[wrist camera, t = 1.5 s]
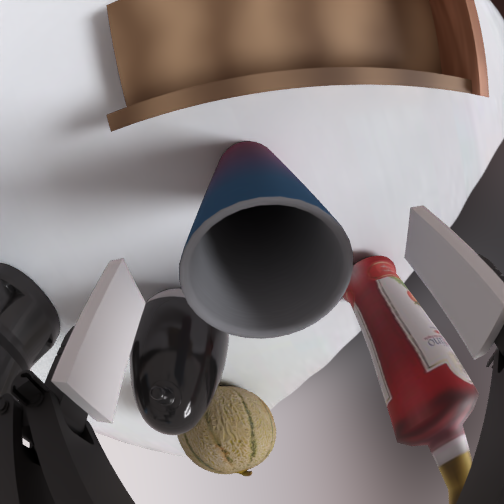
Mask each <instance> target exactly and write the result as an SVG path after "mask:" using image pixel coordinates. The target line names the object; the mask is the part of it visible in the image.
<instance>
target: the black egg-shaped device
mask: <svg viewBox="0 0 504 504" xmlns="http://www.w3.org/2000/svg"><path fill="white" fill-rule="evenodd" d="M228 343H229V333H226V332H223V331H220V330H218V329H216V328H215V327H213V326H211V325H209V324H208V323H206V322H205V321H204V320H203V319H201V318H200V317H199V316H198V315H197V314H196V313H195V312H194V311H193V309H192V308H191V307H190V306H189V304H188V303H187V301H186V299H185V296H184V294H183V292H182V289H169V290H165V291H162V292H160V293H158V294H156V295H154V296H153V297H152V298H150V299H149V300H148V301H147V302H146V304H145V307H144V310H143V313H142V316H141V319H140V322H139V326H138V329H137V332H136V335H135V339H134V342H133V345H132V349H131V352H130V356H129V357H130V374H131V383H132V389H133V394H134V398H135V401H136V404H137V407H138V409H139V411H140V413H141V415H142V417H143V419H144V420H145V421H146V423H147V424H148V425H149V426H150V427H152V428H153V429H155V430H156V431H158V432H161V433H163V434H167V435H180V434H184V433H187V432H189V431H191V430H192V429H194V428H195V427H196V426H197V425H198V424H199V423H200V421H201V420H202V419H203V418H204V416H205V415H206V413H207V411H208V410H209V408H210V406H211V404H212V402H213V399H214V397H215V394H216V392H217V389H218V386H219V383H220V380H221V377H222V373H223V370H224V366H225V361H226V356H227V350H228Z"/></svg>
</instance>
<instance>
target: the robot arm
mask: <svg viewBox="0 0 504 504" xmlns="http://www.w3.org/2000/svg"><path fill="white" fill-rule="evenodd" d="M404 258H405V259H406V260H407V261H408V263H409V264H410V265H411V267H412V268H413V269H414V270H415V272H416V273H417V274H418V276H419V277H420V278H421V280H422V281H423V282H424V284H425V285H426V286H427V288H428V289H429V291H430V292H431V293H432V295H433V296H434V298H435V299H436V300H437V302H438V303H439V305H440V306H441V308H442V309H443V311H444V312H445V314H446V315H447V317H448V318H449V319H450V321H451V323H452V324H453V326H454V327H455V329H456V330H457V332H458V334H459V335H460V337H461V338H462V340H463V341H464V343H465V345H466V347H467V348H468V350H469V352H470V353H471V355H472V357H473V359H474V360H475V359H476V358H479V357H480V356H482V355H484V354H486V353H488V351H489V350H490V348H491V346H492V345H493V343H495V344H496V346H497V349H496V351H495V352H494V353H493V355H492V357H491V358H490V359H489V361H488V363H487V366H486V367H489V365H490V364H491V363H492V361H493V360H494V364H493V366H492V368H493V372H492V380H491V387H490V393H489V399H488V404H487V409H486V414H485V419H484V423H483V427H482V431H481V435H480V439H479V442H478V446H477V449H476V452H475V456H474V459H473V462H472V465H471V468H470V470H469V473H468V476H467V479H466V481H465V484H464V486H463V489H462V491H461V493H460V496H459V498H458V500H457V503H456V504H504V276H503V275H502V273H501V272H500V271H499V270H497V268H496V267H495V266H494V265H493V264H492V263H491V262H490V261H489V260H488V259H486V258H485V257H483V256H482V255H480V254H478V255H477V254H476V253H475V252H474V251H473V250H472V249H471V248H470V247H469V246H468V245H467V244H466V243H465V242H464V241H463V240H462V239H461V238H460V237H459V236H458V235H457V234H456V233H454V232H453V231H452V230H451V229H450V228H449V227H448V226H447V225H446V224H444V223H443V222H442V221H441V220H440V219H439V218H438V217H436V216H435V215H434V214H433V213H432V212H430V211H429V210H428V209H427V208H426V207H424V206H417V207H410V217H409V227H408V235H407V243H406V250H405V257H404ZM145 304H146V303H145V301H144V299H143V297H142V295H141V293H140V291H139V289H138V287H137V285H136V283H135V281H134V279H133V277H132V275H131V273H130V271H129V269H128V267H127V265H126V263H125V260H124V258H121V259H116V260H112V261H110V262H109V263H108V265H107V267H106V268H105V270H104V272H103V274H102V275H101V277H100V279H99V281H98V283H97V284H96V286H95V288H94V290H93V292H92V294H91V295H90V297H89V299H88V301H87V303H86V305H85V307H84V309H83V311H82V313H81V315H80V317H79V319H78V321H77V323H76V325H75V326H73V327H72V328H71V329H70V331H69V332H68V333H67V334H66V335H65V337H64V340H63V342H62V344H61V348H59V350H58V353H57V356H56V357H55V359H54V362H53V364H52V366H51V369H50V371H49V374H48V376H47V378H46V381H45V383H43V382H42V381H41V380H40V379H39V378H38V377H37V376H36V375H35V374H34V373H33V372H32V371H30V368H31V367H32V366H33V365H34V364H35V363H36V362H37V361H38V360H39V359H40V358H41V357H42V356H43V355H44V354H45V353H46V352H47V351H48V350H49V349H51V347H52V346H53V345H54V343H55V341H56V339H57V337H58V335H59V333H60V321H59V318H58V315H57V313H56V310H55V308H54V307H53V305H52V303H51V302H50V300H49V299H48V298H47V296H46V295H45V294H44V292H43V291H42V290H41V289H40V288H39V287H38V286H37V285H36V284H35V283H34V282H33V281H32V280H31V279H30V278H29V277H27V276H26V275H25V274H23V273H22V272H21V271H19V270H17V269H15V268H14V267H11V266H9V265H6V264H0V504H135V503H134V501H133V500H132V498H131V497H130V495H129V494H128V492H127V491H126V489H125V487H124V486H123V484H122V483H121V481H120V479H119V478H118V476H117V474H116V473H115V471H114V469H113V467H112V466H111V464H110V462H109V460H108V459H107V457H106V455H105V453H104V451H103V449H102V447H101V445H100V443H99V441H98V439H97V437H96V435H95V433H94V431H93V428H92V426H91V425H90V423H89V422H88V421H87V416H88V415H90V416H91V417H92V418H93V419H95V420H96V421H99V422H106V423H113V420H114V415H115V411H116V407H117V402H118V398H119V394H120V390H121V386H122V382H123V378H124V374H125V370H126V367H127V363H128V359H129V356H130V352H131V349H132V345H133V342H134V339H135V335H136V332H137V329H138V326H139V322H140V319H141V316H142V313H143V310H144V307H145ZM22 438H24V439H25V440H27V441H28V442H30V447H29V448H28V447H26V446H24V445H23V442H22Z"/></svg>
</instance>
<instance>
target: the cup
mask: <svg viewBox="0 0 504 504" xmlns="http://www.w3.org/2000/svg"><path fill="white" fill-rule="evenodd" d="M352 270H353V252H352V248H351V244H350V241H349V238H348V237H347V235H346V233H345V231H344V229H343V228H342V226H341V225H340V224H339V223H338V222H337V220H336V219H335V218H334V217H333V216H332V215H331V214H330V213H329V211H328V210H327V209H326V208H325V207H324V206H323V205H322V204H321V203H320V202H319V200H318V199H317V198H316V197H315V196H314V195H313V194H312V193H311V192H310V191H309V190H308V189H307V188H306V187H305V185H304V184H303V183H302V182H301V181H300V180H299V179H298V178H297V177H296V176H295V175H294V174H293V173H292V172H291V171H290V170H289V169H288V168H287V167H286V166H285V165H284V164H283V163H282V162H281V161H280V160H279V159H278V158H277V157H276V156H275V155H274V154H273V153H272V152H271V151H270V150H269V149H268V148H267V147H265V146H264V145H262V144H259V143H257V142H251V141H246V142H240V143H237V144H235V145H233V146H231V147H230V148H228V149H227V150H226V151H225V153H224V154H223V155H222V157H221V159H220V161H219V163H218V166H217V168H216V170H215V173H214V175H213V177H212V180H211V182H210V184H209V187H208V189H207V191H206V194H205V196H204V199H203V201H202V203H201V206H200V208H199V211H198V213H197V216H196V218H195V221H194V223H193V226H192V228H191V231H190V234H189V236H188V239H187V241H186V244H185V247H184V249H183V253H182V256H181V260H180V263H179V280H180V284H181V289H182V292H183V294H184V296H185V299H186V301H187V303H188V304H189V306H190V307H191V308H192V309H193V311H194V312H195V313H196V314H197V315H198V316H199V317H200V318H201V319H203V320H204V321H205V322H206V323H208V324H209V325H211V326H213V327H215V328H216V329H218V330H220V331H223V332H226V333H229V334H231V335H236V336H240V337H245V338H260V339H261V338H274V337H279V336H284V335H288V334H292V333H294V332H297V331H300V330H303V329H305V328H306V327H308V326H310V325H312V324H314V323H316V322H317V321H319V320H320V319H321V318H323V317H324V316H325V315H327V314H328V313H329V312H330V311H331V310H332V309H333V308H334V307H335V306H336V305H337V303H338V302H339V301H340V299H341V298H342V296H343V295H344V293H345V291H346V289H347V287H348V285H349V282H350V279H351V275H352Z"/></svg>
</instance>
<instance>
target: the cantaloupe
mask: <svg viewBox="0 0 504 504" xmlns="http://www.w3.org/2000/svg"><path fill="white" fill-rule="evenodd" d="M178 439H179V442H180V444H181V446H182V448H183V450H184V451H185V453H186V455H187V456H188V457H189V458H190V459H191V460H192V461H193V462H194V463H195V464H196V465H198V466H199V467H201V468H203V469H205V470H208V471H210V472H214V473H219V474H232V473H239V474H242V475H243V476H250V475H251V474H252V471H247V470H248V469H251V468H253V467H255V466H257V465H258V464H260V463H261V462H263V461H264V460H265V459H266V458H267V456H268V455H269V454H270V452H271V451H272V449H273V446H274V443H275V439H276V427H275V423H274V419H273V416H272V414H271V412H270V410H269V408H268V406H267V405H266V404H265V403H264V402H263V401H262V400H261V399H260V398H259V397H258V396H257V395H255V394H253V393H252V392H249V391H247V390H245V389H242V388H238V387H232V386H218V389H217V392H216V394H215V397H214V399H213V402H212V404H211V406H210V408H209V410H208V411H207V413H206V415H205V416H204V418H203V419H202V420H201V421H200V423H199V424H198V425H197V426H196V427H195V428H194V429H192V430H191V431H189V432H187V433H184V434H180V435H178Z"/></svg>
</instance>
